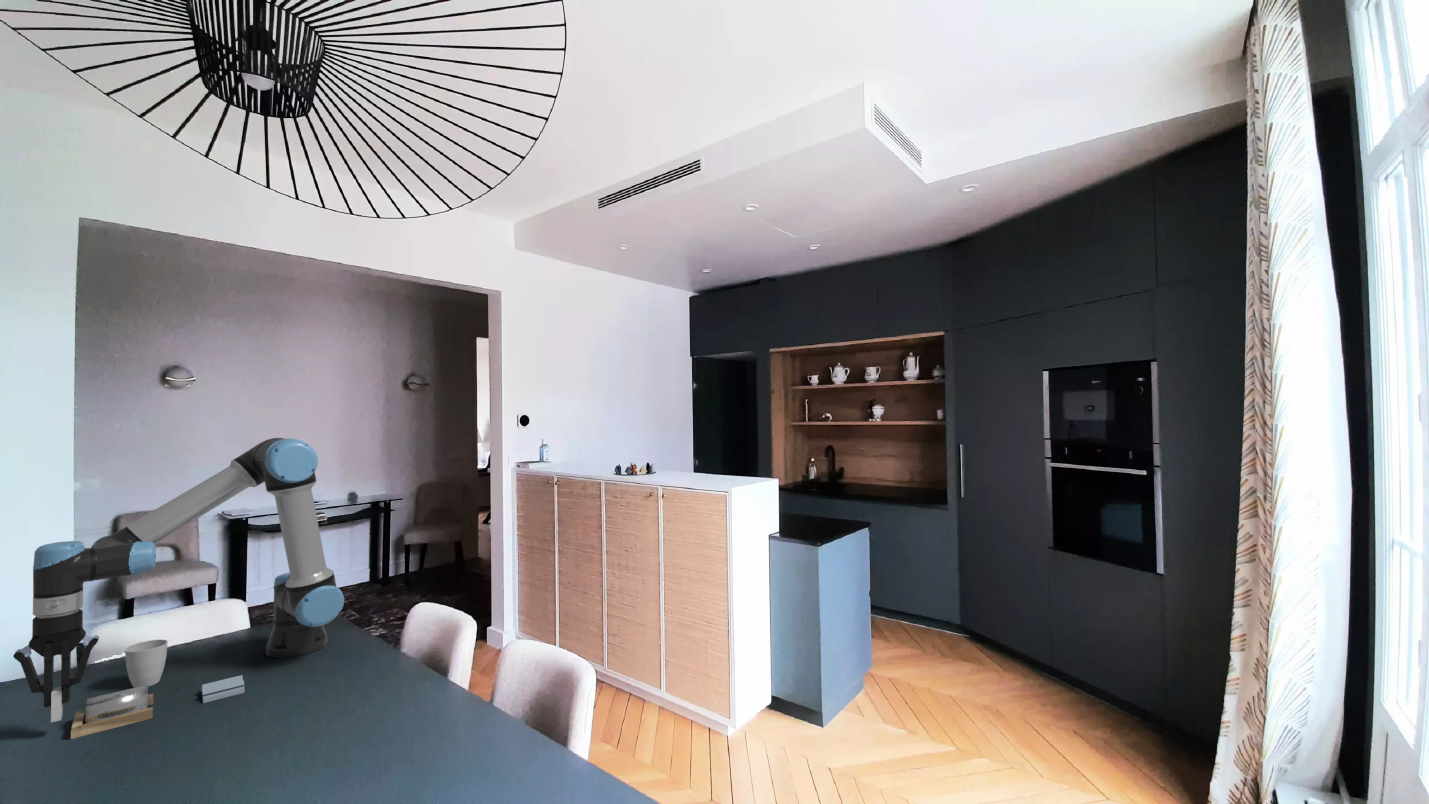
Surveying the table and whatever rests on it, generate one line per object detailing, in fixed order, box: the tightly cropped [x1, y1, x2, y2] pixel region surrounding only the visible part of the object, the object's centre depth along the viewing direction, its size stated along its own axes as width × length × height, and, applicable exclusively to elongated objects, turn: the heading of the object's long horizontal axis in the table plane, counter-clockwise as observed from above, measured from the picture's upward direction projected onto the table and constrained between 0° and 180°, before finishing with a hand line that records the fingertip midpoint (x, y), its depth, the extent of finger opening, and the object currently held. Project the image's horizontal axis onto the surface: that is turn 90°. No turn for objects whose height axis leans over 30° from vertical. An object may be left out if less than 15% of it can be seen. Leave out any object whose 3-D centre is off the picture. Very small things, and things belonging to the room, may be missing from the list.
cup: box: [124, 639, 169, 688], centre depth 155 cm, size 8×8×10 cm
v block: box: [201, 674, 246, 704], centre depth 151 cm, size 8×8×2 cm
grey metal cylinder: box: [85, 685, 149, 724], centre depth 138 cm, size 10×6×6 cm, turn 133°
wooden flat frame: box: [70, 693, 154, 740], centre depth 137 cm, size 10×13×2 cm
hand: (56, 718), depth 131 cm, fingers closed
